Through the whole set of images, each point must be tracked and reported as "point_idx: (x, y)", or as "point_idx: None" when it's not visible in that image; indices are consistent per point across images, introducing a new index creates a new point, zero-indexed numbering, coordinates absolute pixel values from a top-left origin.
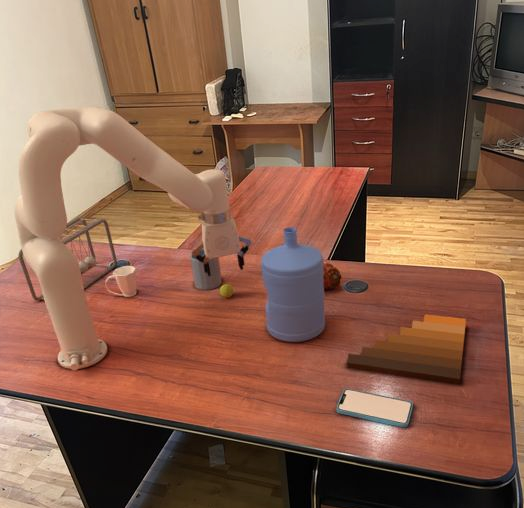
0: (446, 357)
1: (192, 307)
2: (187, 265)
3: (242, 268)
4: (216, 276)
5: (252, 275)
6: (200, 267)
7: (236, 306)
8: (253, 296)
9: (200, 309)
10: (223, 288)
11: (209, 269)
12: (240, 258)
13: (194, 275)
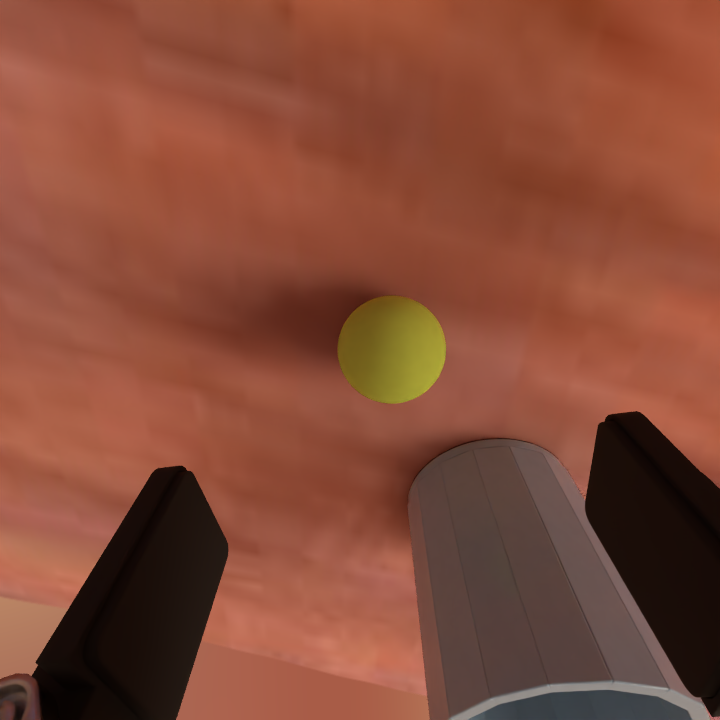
0: None
1: (680, 229)
2: None
3: (157, 477)
4: (450, 513)
5: (231, 517)
6: (609, 601)
7: (325, 151)
8: (195, 285)
9: (631, 177)
10: (419, 343)
11: (673, 496)
12: (69, 644)
13: None
